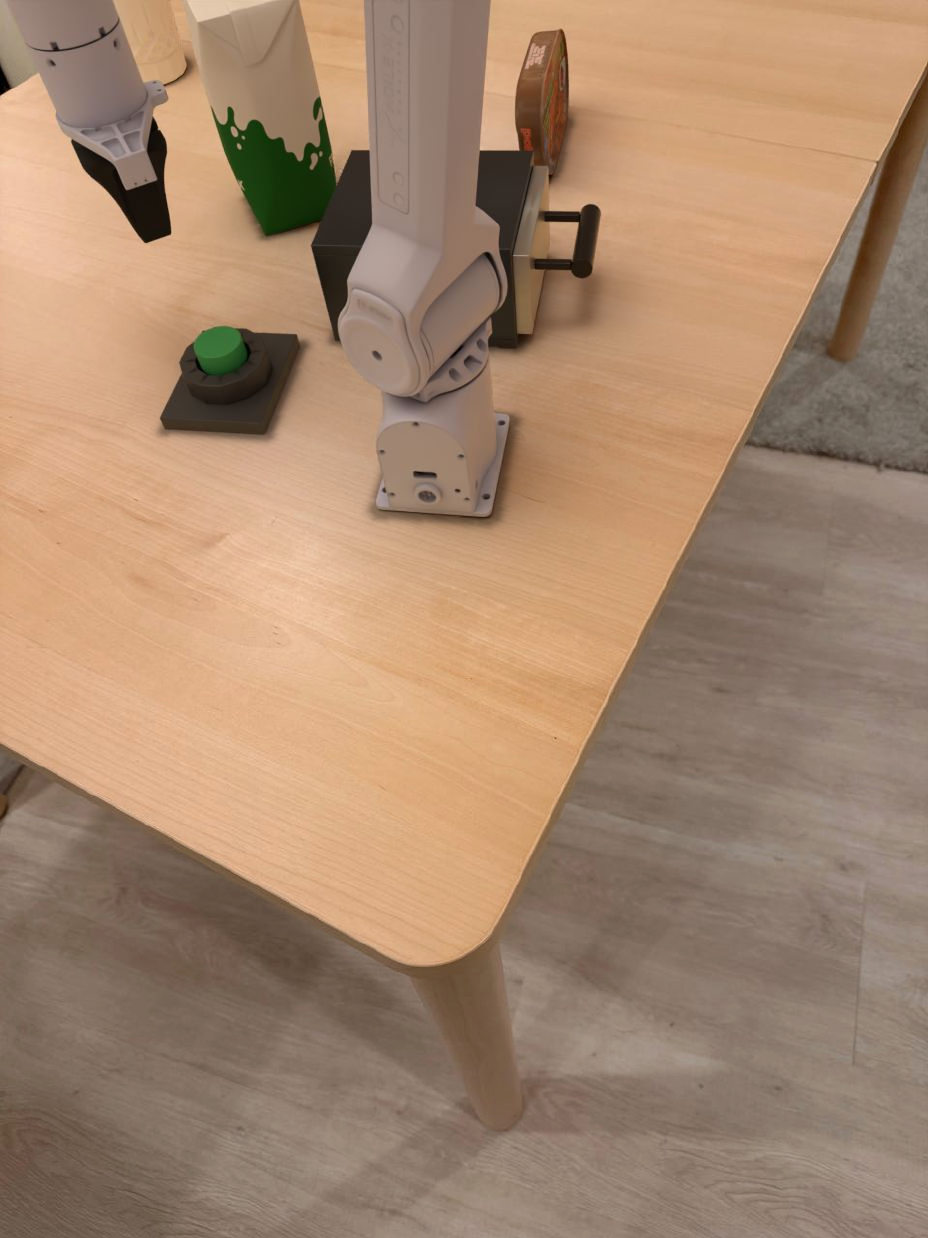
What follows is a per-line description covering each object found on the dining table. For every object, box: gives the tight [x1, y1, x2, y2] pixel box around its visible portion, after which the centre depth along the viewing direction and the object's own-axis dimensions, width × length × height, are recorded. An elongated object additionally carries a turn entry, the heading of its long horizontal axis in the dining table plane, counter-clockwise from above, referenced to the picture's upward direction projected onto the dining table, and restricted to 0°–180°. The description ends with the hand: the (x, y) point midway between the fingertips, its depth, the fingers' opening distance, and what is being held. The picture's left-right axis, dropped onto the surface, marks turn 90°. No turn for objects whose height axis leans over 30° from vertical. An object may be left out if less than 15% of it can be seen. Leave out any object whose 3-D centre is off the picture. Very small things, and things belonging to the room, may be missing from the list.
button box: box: [159, 327, 301, 436], centre depth 71 cm, size 10×8×3 cm
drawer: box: [512, 166, 602, 335], centre depth 72 cm, size 18×11×7 cm, turn 80°
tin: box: [514, 28, 570, 176], centre depth 84 cm, size 15×3×8 cm, turn 168°
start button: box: [193, 325, 248, 375], centre depth 69 cm, size 4×4×2 cm
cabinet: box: [310, 149, 534, 349], centre depth 73 cm, size 15×13×9 cm
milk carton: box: [182, 0, 337, 237], centre depth 77 cm, size 9×9×20 cm
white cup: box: [113, 0, 188, 86], centre depth 99 cm, size 8×8×10 cm
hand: (156, 234), depth 66 cm, fingers closed
